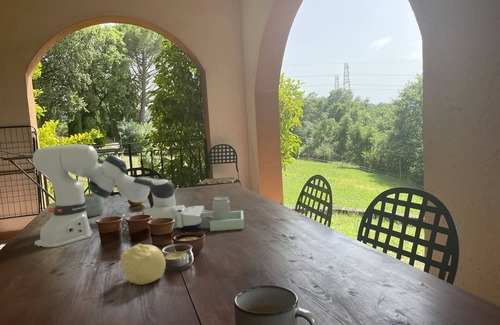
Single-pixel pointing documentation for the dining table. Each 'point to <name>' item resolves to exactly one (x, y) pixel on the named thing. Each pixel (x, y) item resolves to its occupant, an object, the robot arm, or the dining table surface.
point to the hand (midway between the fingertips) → (212, 213)
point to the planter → (93, 205)
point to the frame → (229, 222)
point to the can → (221, 208)
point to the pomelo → (143, 264)
